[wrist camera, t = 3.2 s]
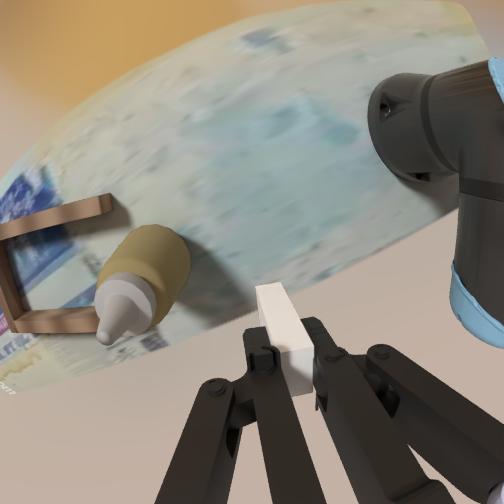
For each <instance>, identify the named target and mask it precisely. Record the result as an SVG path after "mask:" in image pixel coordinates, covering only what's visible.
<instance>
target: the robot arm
mask: <svg viewBox="0 0 504 504" xmlns="http://www.w3.org/2000/svg"><path fill="white" fill-rule="evenodd" d="M368 126H369V131H370V135H371V139H372V142H373V144H374V146H375V149H376V151H377V153H378V154H379V156H380V158H381V159H382V161H383V162H384V163H385V164H386V166H387V167H388V168H389V169H390V170H391V171H393V172H394V173H395V174H396V175H398V176H399V177H401V178H403V179H406V180H408V181H414V182H421V183H429V182H434V181H437V180H440V179H442V178H445V177H448V176H450V175H453V174H455V173H459V213H458V228H457V239H456V248H455V256H454V260H453V263H452V266H451V268H452V280H451V288H450V304H451V307H452V310H453V312H454V314H455V316H456V317H457V319H458V320H459V321H460V322H461V323H462V325H463V326H464V327H465V328H466V330H468V331H469V332H470V333H471V334H473V335H474V336H475V337H477V338H478V339H480V340H481V341H483V342H485V343H487V344H489V345H492V346H495V347H498V348H502V349H504V58H496V57H493V58H490V59H489V60H486V61H482V62H478V63H475V64H471V65H467V66H464V67H460V68H457V69H454V70H451V71H447V72H444V73H441V74H438V75H435V76H432V75H423V74H414V73H401V74H396V75H394V76H391V77H389V78H387V79H385V80H383V81H382V82H380V83H379V84H378V85H377V87H376V88H375V89H374V91H373V93H372V95H371V97H370V100H369V105H368ZM255 287H256V296H257V304H258V313H259V321H260V327H256V328H249V329H246V330H245V332H244V334H243V341H244V347H245V354H246V361H247V372H246V373H245V375H244V376H243V377H241V378H240V379H238V380H235V381H233V382H230V381H228V380H227V379H223V378H214V379H211V380H208V381H206V382H205V383H203V384H202V386H201V387H200V389H199V391H198V394H197V396H196V399H195V401H194V404H193V407H192V409H191V412H190V414H189V417H188V419H187V422H186V424H185V427H184V429H183V432H182V435H181V437H180V440H179V442H178V445H177V448H176V450H175V453H174V455H173V458H172V460H171V463H170V465H169V468H168V470H167V473H166V475H165V478H164V480H163V483H162V485H161V488H160V491H159V493H158V496H157V498H156V501H155V503H154V504H227V501H228V496H229V492H230V487H231V482H232V478H233V473H234V469H235V464H236V459H237V454H238V449H239V444H240V439H241V435H242V429H243V426H246V425H249V424H251V423H253V422H256V421H257V424H258V430H259V435H260V440H261V446H262V451H263V457H264V462H265V467H266V472H267V477H268V483H269V488H270V493H271V497H272V502H273V504H327V503H326V500H325V497H324V494H323V491H322V488H321V485H320V482H319V480H318V477H317V474H316V471H315V468H314V465H313V462H312V459H311V456H310V453H309V450H308V447H307V444H306V441H305V438H304V435H303V432H302V429H301V426H300V423H299V420H298V417H297V414H296V410H295V408H294V405H293V401H292V398H291V397H294V396H298V395H303V394H307V393H312V392H313V385H314V387H315V390H316V405H315V408H316V411H317V410H318V406H319V408H320V410H321V413H322V415H323V417H324V420H325V422H326V425H327V427H328V430H329V432H330V435H331V437H332V439H333V442H334V444H335V447H336V449H337V452H338V454H339V456H340V459H341V461H342V464H343V466H344V469H345V471H346V473H347V476H348V478H349V481H350V483H351V486H352V488H353V491H354V493H355V495H356V498H357V500H358V503H359V504H456V503H455V502H454V500H453V498H452V497H451V495H450V493H449V492H448V490H447V488H446V487H445V486H444V484H443V483H442V482H440V481H439V480H433V479H429V478H428V477H427V476H426V474H425V473H424V471H423V469H422V468H421V466H420V464H419V463H418V461H417V459H416V458H415V456H414V455H413V453H412V451H411V450H410V448H409V446H410V447H411V448H412V449H413V450H415V451H416V452H417V453H418V454H419V455H420V456H421V457H422V458H423V459H424V460H425V461H427V462H428V463H429V464H430V465H431V466H432V467H433V468H434V469H435V470H437V471H438V472H439V473H440V474H441V475H442V476H444V478H446V479H447V480H448V481H449V482H450V483H451V484H452V485H454V486H455V487H456V488H457V489H458V490H460V491H461V492H462V493H463V494H464V495H466V496H467V497H469V498H470V499H472V500H474V501H476V502H478V503H481V504H504V424H502V423H501V422H499V421H498V420H497V419H495V418H493V417H492V416H491V415H489V414H488V413H486V412H485V411H484V410H482V409H481V408H479V407H478V406H477V405H475V404H474V403H472V402H471V401H469V400H468V399H467V398H465V397H464V396H462V395H461V394H459V393H458V392H456V391H455V390H454V389H452V388H451V387H449V386H448V385H446V384H445V383H444V382H442V381H441V380H439V379H438V378H436V377H435V376H433V375H432V374H431V373H429V372H428V371H426V370H425V369H423V368H422V367H421V366H419V365H418V364H416V363H415V362H413V361H412V360H410V359H409V358H408V357H406V356H405V355H403V354H402V353H400V352H399V351H397V350H396V349H395V348H393V347H391V346H389V345H385V344H377V345H374V346H372V347H370V348H369V349H368V351H367V354H365V355H351V354H349V353H348V352H347V351H346V350H345V349H343V348H341V347H337V345H336V344H335V342H334V341H333V339H332V338H331V336H330V335H329V333H328V332H327V330H326V328H325V327H324V326H323V324H322V322H321V321H320V320H318V319H317V318H315V317H309V318H304V319H299V317H298V315H297V313H296V311H295V309H294V307H293V305H292V303H291V302H290V300H289V298H288V296H287V294H286V292H285V290H284V288H283V287H282V285H281V283H280V282H279V283H273V284H266V285H260V286H255ZM390 386H391V387H390ZM407 444H408V445H409V446H408V445H407Z"/></svg>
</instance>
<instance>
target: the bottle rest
mask: <svg viewBox="0 0 504 504" xmlns="http://www.w3.org/2000/svg"><path fill="white" fill-rule="evenodd" d="M110 210H113V208H112V202H111V196H110V193H108V194H103V195H99V196H95V197H91V198H87V199H83V200H79V201H76V202H72V203H68V204H64V205H61V206H57V207H54V208H50V209H47V210H44V211H40V212H37V213H34V214H31V215H28V216H25V217H22V218H19V219H16V220H13V221H10V222H7V223H4V224H1V225H0V306H1V308H2V311H3V313H4V316H5V318H6V321H7V323H8V325H9V328H10V330H11V332H12V333H79V332H97V330H98V326H99V322H100V318H99V317H98V315H97V312H96V309H95V306H90V307H78V308H65V309H51V310H35V311H25V310H24V307H23V304H22V302H21V299H20V296H19V293H18V290H17V288H16V285H15V281H14V278H13V275H12V272H11V269H10V265H9V261H8V258H7V254H6V250H5V246H4V242H3V239H7V238H10V237H13V236H17V235H20V234H24V233H27V232H31V231H35V230H38V229H42V228H46V227H50V226H54V225H58V224H62V223H66V222H70V221H74V220H78V219H82V218H87V217H91V216H96V215H100V214H103V213H106V212H108V211H110Z"/></svg>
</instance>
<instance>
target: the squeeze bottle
mask: <svg viewBox="0 0 504 504" xmlns="http://www.w3.org/2000/svg"><path fill="white" fill-rule="evenodd" d="M190 270H191V259H190V252H189V250H188V248H187V246H186V244H185V243H184V241H183V239H182V238H181V237H180V236H179V235H177V234H176V233H175V232H174V231H173V230H171V229H169V228H166V227H163V226H160V225H157V224H154V225H143V226H140V227H139V228H137V229H135V230H133V231H132V232H130V233H129V234H128V235H127V237H126V238H125V239H124V240H123V242H122V243H121V244H120V245H119V247H118V248H117V249H116V250H115V252H114V253H113V254H112V256H111V257H110V258H109V259H108V261H107V262H106V263H105V265H104V266H103V268H102V269H101V271H100V273H99V274H98V280H97V287H96V289H97V292H96V293H95V301H94V305H95V309H96V312H97V315H98V317H99V318H100V322H99V326H98V330H97V334H96V336H97V339H98V341H99V342H100V343H102V344H103V345H106V346H109V345H112V344H113V343H114V342H115V341H116V340H117V339H118V338H119V337H120V336H122V335H123V336H136V335H139V334H141V333H144V332H145V331H146V330H147V328H149V327H152V326H154V325H156V324H159V323H160V322H161V321H162V319H163V318H164V317H165V316H166V315H167V314H168V312H169V310H170V309H171V307H172V305H173V304H174V302H175V300H176V298H177V297H178V295H179V293H180V292H181V290H182V288H183V287H184V285H185V283H186V281H187V280H188V276H189V273H190Z"/></svg>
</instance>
